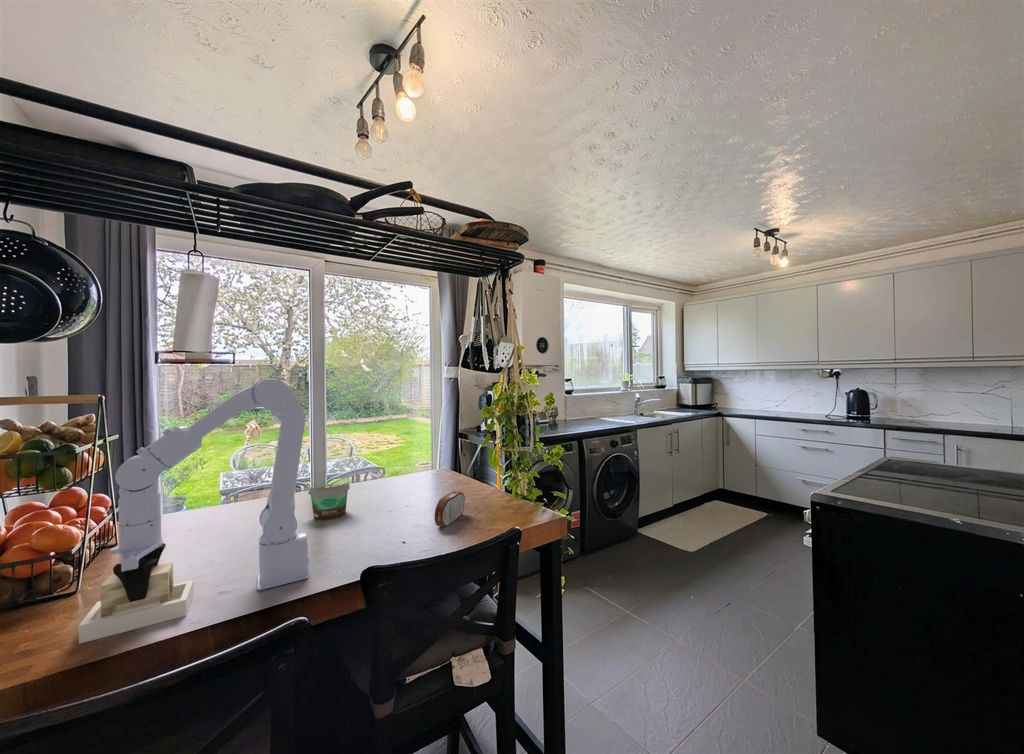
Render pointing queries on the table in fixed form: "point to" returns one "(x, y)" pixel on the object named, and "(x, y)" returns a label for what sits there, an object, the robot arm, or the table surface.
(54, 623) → the table surface
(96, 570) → the table surface
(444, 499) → the tin
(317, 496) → the food container
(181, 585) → the tray
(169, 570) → the wooden toy bench
